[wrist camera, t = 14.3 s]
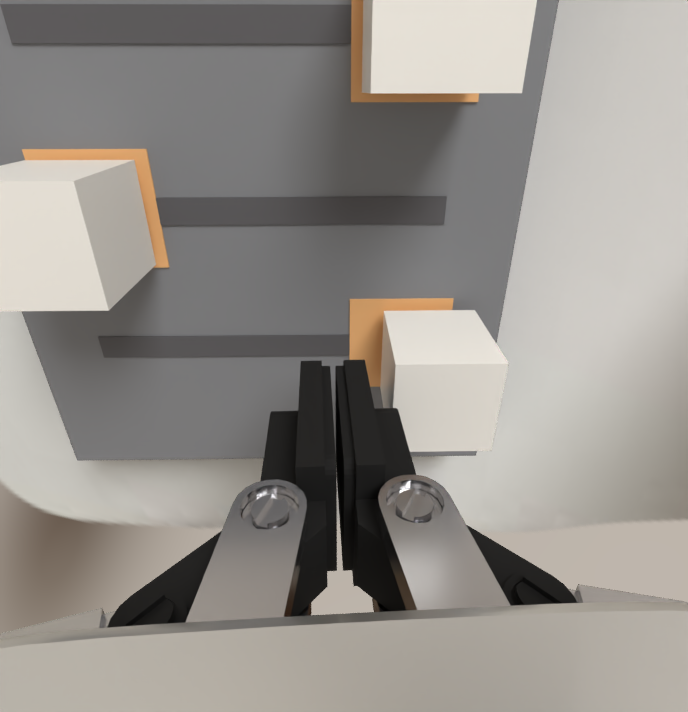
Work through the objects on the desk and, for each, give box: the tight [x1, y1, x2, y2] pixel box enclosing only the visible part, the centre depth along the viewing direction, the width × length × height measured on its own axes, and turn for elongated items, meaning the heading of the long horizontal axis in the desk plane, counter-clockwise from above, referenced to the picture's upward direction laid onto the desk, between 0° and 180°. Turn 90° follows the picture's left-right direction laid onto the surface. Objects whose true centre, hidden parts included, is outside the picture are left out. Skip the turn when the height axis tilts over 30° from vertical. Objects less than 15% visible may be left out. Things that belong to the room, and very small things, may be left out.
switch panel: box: [0, 0, 559, 460], centre depth 14 cm, size 14×15×2 cm
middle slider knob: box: [0, 160, 156, 311], centre depth 11 cm, size 3×3×3 cm
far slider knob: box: [380, 310, 509, 452], centre depth 13 cm, size 3×3×3 cm
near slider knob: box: [362, 0, 537, 93], centre depth 9 cm, size 3×3×3 cm
